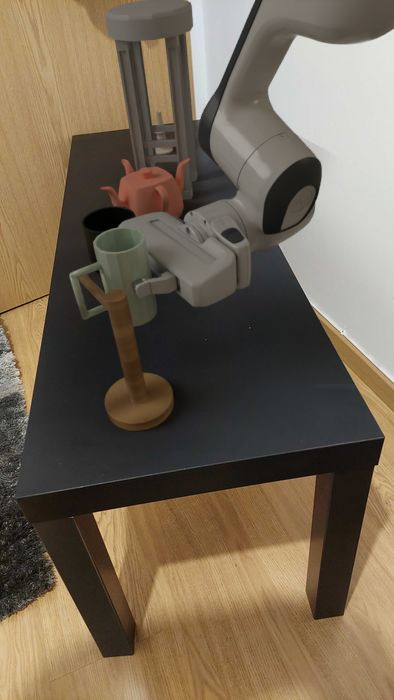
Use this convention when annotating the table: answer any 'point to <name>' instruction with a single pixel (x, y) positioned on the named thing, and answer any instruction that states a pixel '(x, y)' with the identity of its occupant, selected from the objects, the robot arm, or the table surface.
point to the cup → (119, 272)
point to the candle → (161, 137)
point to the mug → (103, 224)
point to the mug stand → (131, 370)
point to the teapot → (150, 190)
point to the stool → (128, 31)
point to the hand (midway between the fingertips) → (120, 277)
